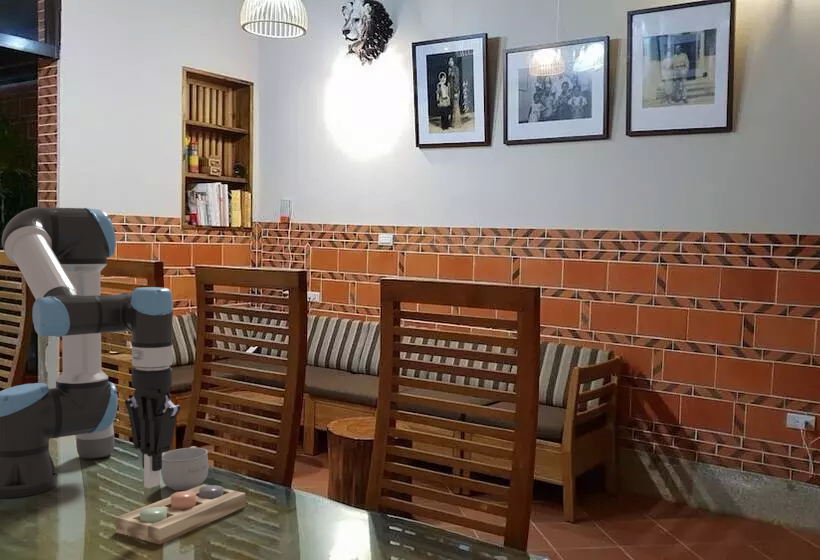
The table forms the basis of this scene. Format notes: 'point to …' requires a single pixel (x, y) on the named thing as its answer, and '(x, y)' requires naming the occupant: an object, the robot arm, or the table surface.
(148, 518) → the sage button
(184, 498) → the terracotta button
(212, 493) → the charcoal button
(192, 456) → the teacup
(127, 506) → the table surface
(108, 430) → the smart speaker
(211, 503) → the button panel
